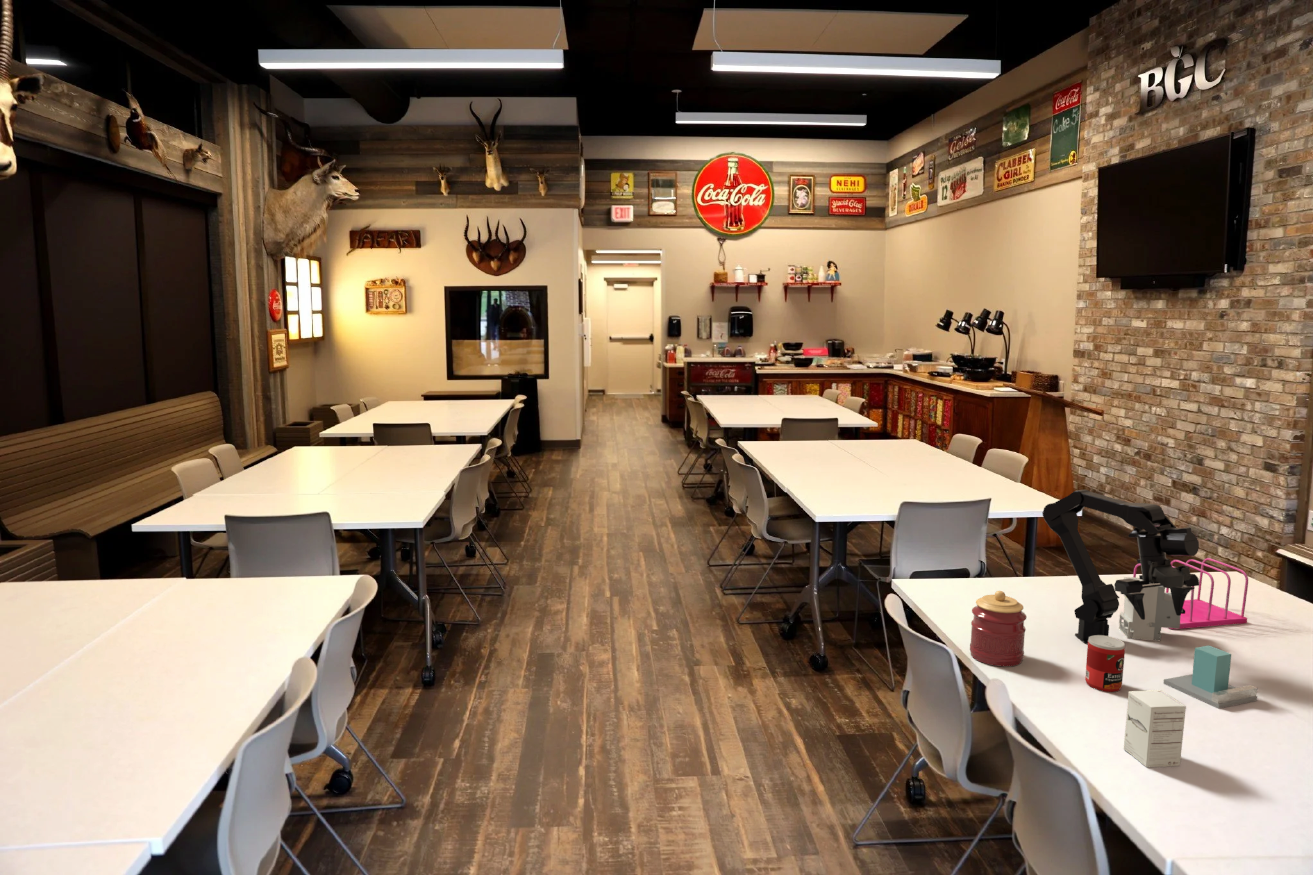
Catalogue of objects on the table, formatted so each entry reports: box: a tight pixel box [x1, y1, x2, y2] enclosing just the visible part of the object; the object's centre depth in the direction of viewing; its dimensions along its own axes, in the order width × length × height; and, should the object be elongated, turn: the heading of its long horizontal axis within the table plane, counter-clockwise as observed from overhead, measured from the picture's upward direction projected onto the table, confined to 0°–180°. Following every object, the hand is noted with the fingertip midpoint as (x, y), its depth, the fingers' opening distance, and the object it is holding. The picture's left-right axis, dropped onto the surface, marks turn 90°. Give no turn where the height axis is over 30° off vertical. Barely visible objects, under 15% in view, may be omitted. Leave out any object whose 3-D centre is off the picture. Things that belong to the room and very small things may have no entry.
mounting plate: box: [1163, 673, 1258, 709], centre depth 201 cm, size 14×12×3 cm
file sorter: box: [1132, 557, 1249, 630], centre depth 251 cm, size 17×25×16 cm
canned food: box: [1084, 635, 1126, 693], centre depth 204 cm, size 8×8×11 cm
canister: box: [969, 590, 1027, 667], centre depth 220 cm, size 13×13×18 cm
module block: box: [1191, 645, 1232, 693], centre depth 201 cm, size 6×4×9 cm
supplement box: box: [1123, 689, 1187, 768], centre depth 171 cm, size 7×7×13 cm
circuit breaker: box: [1118, 576, 1185, 641], centre depth 236 cm, size 8×14×15 cm, turn 78°
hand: (1160, 617), depth 216 cm, fingers open, 9 cm apart
